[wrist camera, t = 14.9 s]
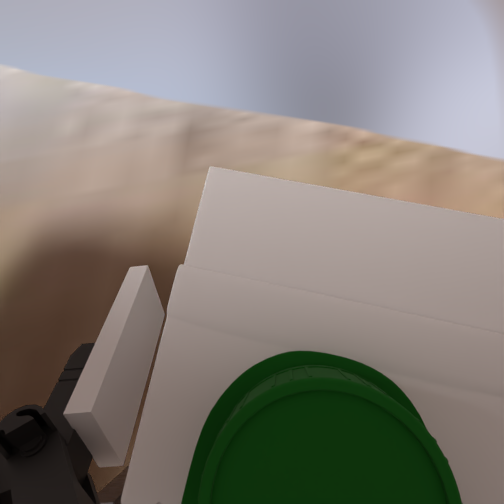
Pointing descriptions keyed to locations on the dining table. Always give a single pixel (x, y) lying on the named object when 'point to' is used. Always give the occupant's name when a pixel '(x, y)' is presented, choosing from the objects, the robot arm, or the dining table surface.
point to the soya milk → (327, 353)
